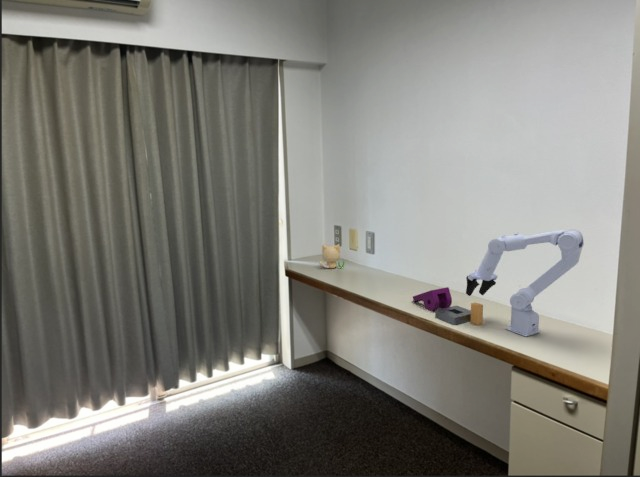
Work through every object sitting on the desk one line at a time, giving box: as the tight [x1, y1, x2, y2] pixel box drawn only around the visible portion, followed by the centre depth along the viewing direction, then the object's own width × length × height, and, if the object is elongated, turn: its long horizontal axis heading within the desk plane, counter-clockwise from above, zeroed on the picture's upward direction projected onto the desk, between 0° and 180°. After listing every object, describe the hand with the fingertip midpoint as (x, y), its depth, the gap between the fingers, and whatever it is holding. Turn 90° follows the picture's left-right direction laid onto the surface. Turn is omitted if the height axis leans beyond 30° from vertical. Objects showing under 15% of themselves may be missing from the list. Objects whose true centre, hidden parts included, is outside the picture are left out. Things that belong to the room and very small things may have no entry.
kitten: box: [318, 243, 345, 269], centre depth 285 cm, size 15×10×15 cm
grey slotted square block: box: [434, 304, 471, 326], centre depth 194 cm, size 11×12×3 cm
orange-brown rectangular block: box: [470, 301, 484, 326], centre depth 188 cm, size 4×2×8 cm, turn 29°
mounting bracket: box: [412, 286, 453, 312], centre depth 211 cm, size 10×8×18 cm
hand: (474, 294), depth 189 cm, fingers open, 7 cm apart
